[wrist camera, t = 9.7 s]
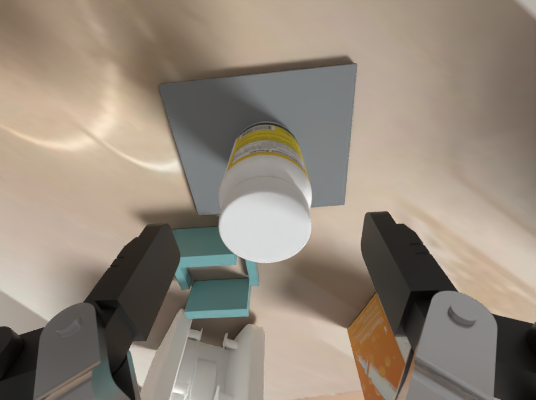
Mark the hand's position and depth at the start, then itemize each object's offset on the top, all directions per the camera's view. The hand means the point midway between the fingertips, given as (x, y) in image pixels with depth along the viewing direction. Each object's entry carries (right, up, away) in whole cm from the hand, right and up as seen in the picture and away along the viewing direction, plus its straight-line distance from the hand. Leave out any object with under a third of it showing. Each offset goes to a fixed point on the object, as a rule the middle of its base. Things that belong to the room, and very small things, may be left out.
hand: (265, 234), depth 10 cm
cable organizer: (-8, -16, +22) cm, 29 cm away
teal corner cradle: (-5, -5, +14) cm, 16 cm away
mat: (0, +5, +8) cm, 9 cm away
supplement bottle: (0, +5, +7) cm, 9 cm away
